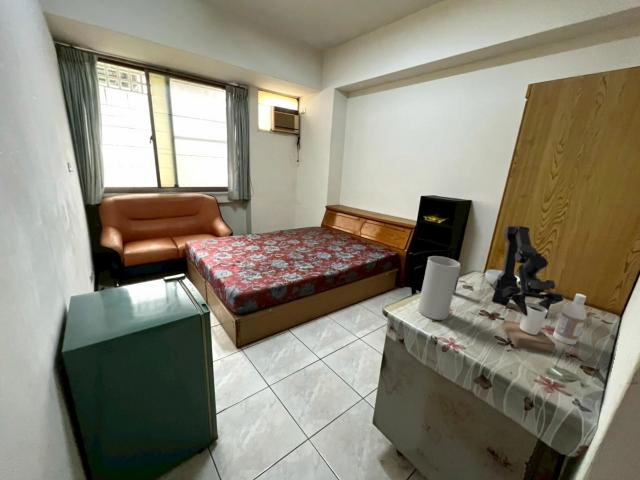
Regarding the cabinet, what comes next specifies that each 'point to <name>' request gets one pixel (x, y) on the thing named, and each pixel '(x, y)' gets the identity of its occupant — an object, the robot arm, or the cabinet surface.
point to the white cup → (533, 318)
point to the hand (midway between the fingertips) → (535, 316)
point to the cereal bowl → (495, 276)
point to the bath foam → (571, 321)
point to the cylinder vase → (438, 287)
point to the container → (457, 280)
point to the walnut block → (527, 338)
